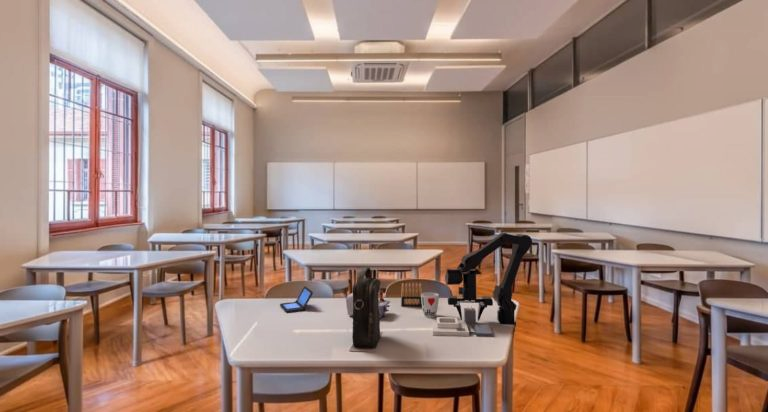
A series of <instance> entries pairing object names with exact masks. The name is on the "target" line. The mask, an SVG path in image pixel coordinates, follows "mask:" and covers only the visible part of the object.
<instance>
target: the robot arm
mask: <svg viewBox="0 0 768 412" xmlns="http://www.w3.org/2000/svg"><path fill="white" fill-rule="evenodd" d="M506 243H508V244H512V252H511V257H510V259H509V262H508V264H507V267H506V270H505V272H504V275H503V277H502V280H501V283H500V284H499V285H497V284H495V286H494V289H493V291H492V297H491V296H490V295H489V296H488V295H487V296H486V295H485V296H484V295H482V296H481V298H479V297H477V275H482V272H481V271H480V270H479V269H478V267H479V265H481V264H482V262H483V260H484V259H485V258H486V257H488V256H489V255H491V253H493V252H495V251H496V250H498V249H499V248H500V247H502V246H503V245H505V244H506ZM532 244H533V240H532V238H531V236H529V235H527V234H523V233H518V234H516V235H514V234H508V233H506V232H500V233H499V234H498V235H497V236H495V237H494V238H493V239H491V240H490V241H488V242H487V243H485V244H484V245H482V246H481V247H480V248H479V249H476V250H474V251H472V252H469V253H467V254H464V255H463V256H462V257H461V262H459V263H460V264H459V265H458V266H457V267H456V269H454V268H446V270H445V274H444V275H445V276H444V281H445V282H444V283H445V285H446V286H455V285H456V286H457V285H459V286H458V290H457V291H458V293H457V294H458V295H459V296H461V297H457V295H448V296H447V305H449V306H453V307H454V308H456V310H457V312H458V314H459V318H460V322H463V315H462V306H461V303H463V304H465V303H466V304H467V303H468V304H473V303H474V304H478V309H477V310H478V311H477V322H479V321H480V319H481V317H482V314H483V312H484V310H485V309H486V308H488V307H489V306H492V307H493V306H494V304H493V303H494V302H495V303H497V306H498V309H497V311H496V314H497V316H496V318H497V321H498V324H500V325H501V324H502V325H516V321H515V319H516V317H515V315H516V314H515V311H516V310H517V307H518V306H517V304H516V303H515V302H514V301H513V300H512V298H513V285H514V283H515V279H516V278H517V274H518V271H519V268H520V266H521V264H522V261H523V257H524V256H525V255H526V254H527V253H528V251H529V250H530V248H531V247H532ZM461 284H462V286H461V287H460V285H461ZM492 298H493V299H492Z"/></svg>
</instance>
